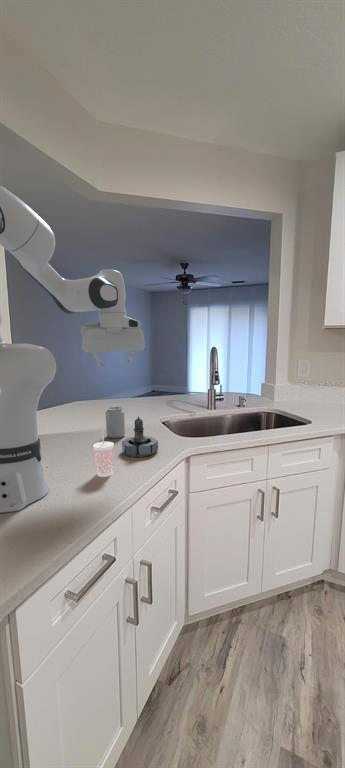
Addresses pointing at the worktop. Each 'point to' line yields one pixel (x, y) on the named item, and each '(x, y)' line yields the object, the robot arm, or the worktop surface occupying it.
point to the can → (115, 422)
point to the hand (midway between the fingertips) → (115, 365)
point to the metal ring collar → (140, 447)
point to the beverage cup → (104, 457)
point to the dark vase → (139, 433)
